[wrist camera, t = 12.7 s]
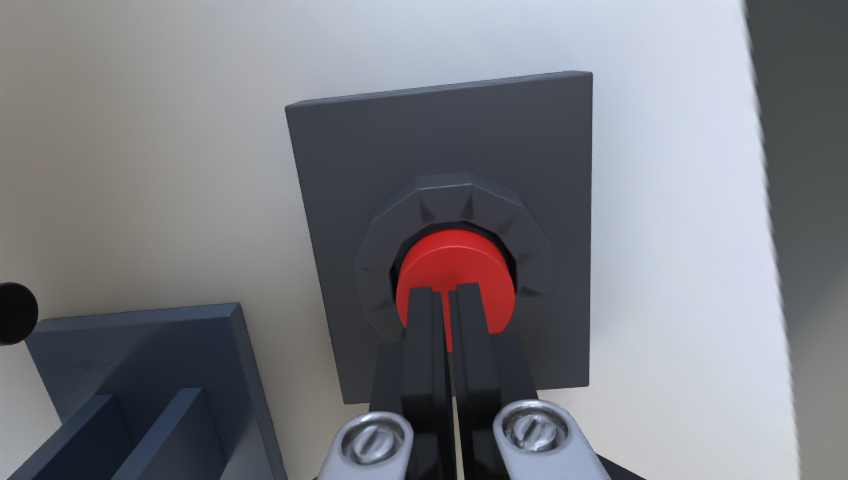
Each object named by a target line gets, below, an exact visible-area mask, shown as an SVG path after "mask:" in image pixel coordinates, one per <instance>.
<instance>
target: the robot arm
mask: <svg viewBox="0 0 848 480" xmlns="http://www.w3.org/2000/svg"><path fill="white" fill-rule="evenodd" d="M456 289H457V290H448V298H449V312H450V325H451V338H452V352H453V365H454V378H455V391H456V402H457V411H458V421H459V431H460V440H461V450H462V460H463V469H464V479H465V480H646V479H644V478H642V477H640V476H638V475H636V474H634V473H632V472H631V471H629V470H627V469H625V468H623V467H621V466H619V465H617V464H615V463H613V462H612V461H610V460H608V459H606V458H604V457H602V456H600V455H598V454H596V453H595V452H594V451H593V449H592V447H591V446H590V444H589V442H588V441H587V439H586V437H585V436H584V434H583V433H582V431H581V429H580V428H579V426H578V424H577V423H576V421H575V420H574V418H573V417H572V416H571V415H570V414H569V413H568V412H567V411H566V410H565V409H563V408H561V407H560V406H558V405H556V404H554V403H551V402H548V401H544V400H539V398H538V395H537V392H536V389H535V386H534V382H533V379H532V376H531V373H530V370H529V366H528V363H527V360H526V357H525V353H524V350H523V347H522V344H521V341H520V337H519V335H518V332H517V331H515V332H504V333H492V334H489V331H488V326H487V321H486V316H485V311H484V307H483V302H482V297H481V292H480V288H479V283H478V282H470V283H459V284H456ZM313 480H457V467H456V452H455V436H454V420H453V405H452V391H451V380H450V371H449V361H448V352H447V343H446V333H445V324H444V315H443V305H442V296H441V291H435V292H433V291H432V286H426V287H415V288H409V298H408V310H407V322H406V334H405V341H400V342H388V343H381V344H380V347H379V352H378V358H377V364H376V370H375V376H374V382H373V387H372V393H371V399H370V405H369V411H368V413H366V414H362V415H359V416H357V417H356V418H354V419H352V420H350V421H348V422H347V423H346V424H345V425H344V426H343V427H342V428H341V429H340V430H339V431H338V433H337V435H336V436H335V438H334V440H333V442H332V444H331V447H330V449H329V451H328V454H327V456H326V458H325V460H324V463H323V465H322V467H321V470H320V472H319V474H318V476H317V477H315V478H314V479H313Z"/></svg>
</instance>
